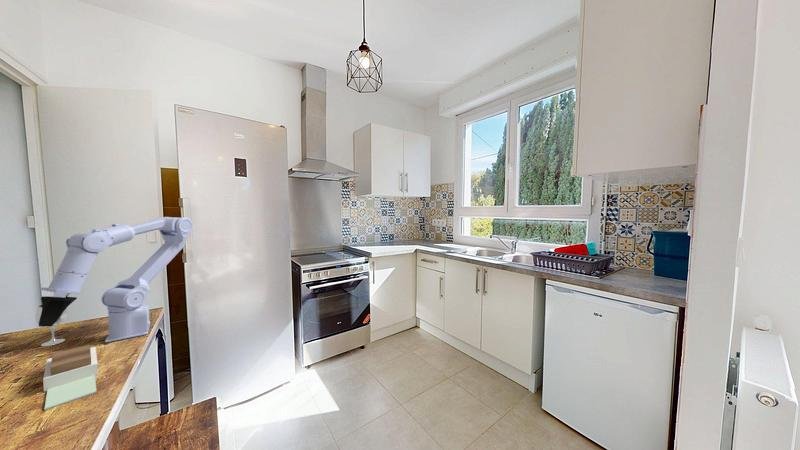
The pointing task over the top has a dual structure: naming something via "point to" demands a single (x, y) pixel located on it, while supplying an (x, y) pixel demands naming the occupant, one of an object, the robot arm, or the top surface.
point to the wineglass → (52, 328)
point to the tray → (70, 373)
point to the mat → (70, 392)
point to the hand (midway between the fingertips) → (46, 324)
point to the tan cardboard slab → (70, 359)
